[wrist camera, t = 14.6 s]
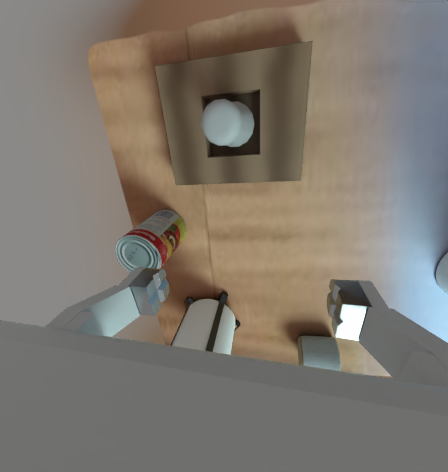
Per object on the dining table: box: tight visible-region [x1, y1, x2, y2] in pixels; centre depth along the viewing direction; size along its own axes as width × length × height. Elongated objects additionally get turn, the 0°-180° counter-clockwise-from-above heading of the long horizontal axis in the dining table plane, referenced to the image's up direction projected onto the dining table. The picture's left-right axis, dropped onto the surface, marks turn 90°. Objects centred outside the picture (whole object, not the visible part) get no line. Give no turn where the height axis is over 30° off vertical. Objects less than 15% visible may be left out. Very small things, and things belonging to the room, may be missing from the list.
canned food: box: [115, 209, 187, 273], centre depth 38 cm, size 8×8×12 cm
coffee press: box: [170, 292, 240, 355], centre depth 39 cm, size 17×16×30 cm
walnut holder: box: [155, 41, 312, 185], centre depth 31 cm, size 20×16×4 cm
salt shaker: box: [201, 99, 254, 147], centre depth 26 cm, size 6×6×13 cm
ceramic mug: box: [298, 336, 341, 371], centre depth 48 cm, size 11×8×8 cm
